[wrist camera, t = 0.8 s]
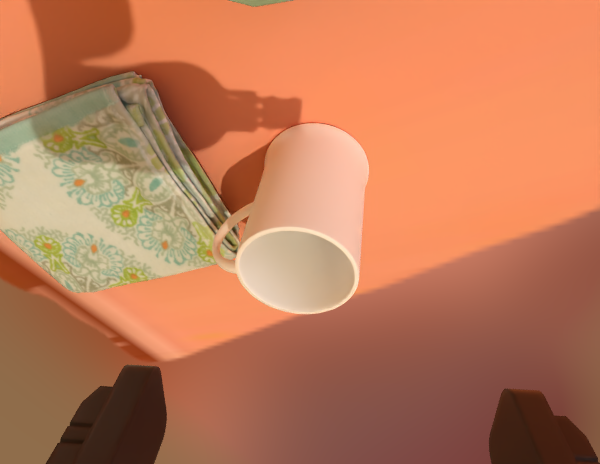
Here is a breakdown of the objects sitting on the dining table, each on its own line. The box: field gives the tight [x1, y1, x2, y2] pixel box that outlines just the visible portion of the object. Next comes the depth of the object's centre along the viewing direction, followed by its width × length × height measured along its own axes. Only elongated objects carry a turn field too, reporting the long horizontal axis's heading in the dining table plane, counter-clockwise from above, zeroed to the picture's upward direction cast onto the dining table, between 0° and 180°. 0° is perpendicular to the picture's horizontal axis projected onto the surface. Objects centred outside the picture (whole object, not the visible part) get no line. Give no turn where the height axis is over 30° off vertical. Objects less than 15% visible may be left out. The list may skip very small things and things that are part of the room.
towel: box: [0, 71, 240, 293], centre depth 43 cm, size 18×21×5 cm
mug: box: [212, 123, 369, 314], centre depth 37 cm, size 12×8×12 cm
